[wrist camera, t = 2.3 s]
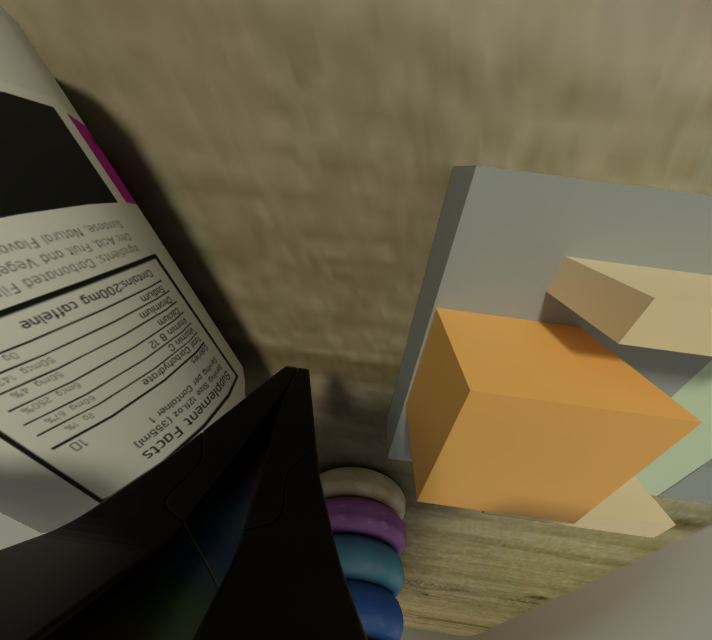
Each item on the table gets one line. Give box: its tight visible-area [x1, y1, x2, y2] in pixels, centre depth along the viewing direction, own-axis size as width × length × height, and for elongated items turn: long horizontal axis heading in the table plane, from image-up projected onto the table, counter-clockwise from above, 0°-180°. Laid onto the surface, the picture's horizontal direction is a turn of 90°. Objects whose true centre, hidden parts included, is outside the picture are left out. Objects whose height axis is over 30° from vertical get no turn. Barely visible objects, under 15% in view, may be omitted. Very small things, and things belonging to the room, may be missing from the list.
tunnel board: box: [386, 166, 712, 538], centre depth 10 cm, size 14×22×6 cm, turn 84°
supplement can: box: [0, 6, 246, 533], centre depth 8 cm, size 8×8×15 cm
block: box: [406, 308, 702, 524], centre depth 9 cm, size 5×5×4 cm
